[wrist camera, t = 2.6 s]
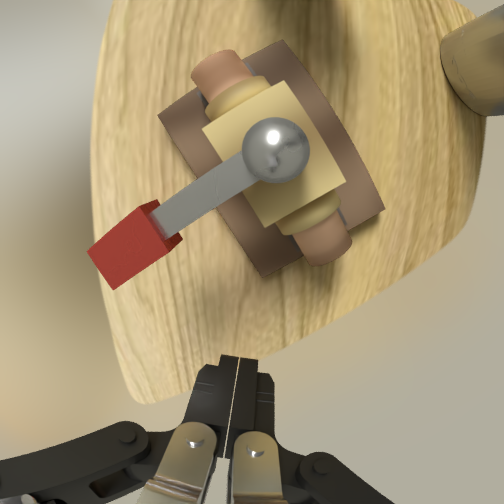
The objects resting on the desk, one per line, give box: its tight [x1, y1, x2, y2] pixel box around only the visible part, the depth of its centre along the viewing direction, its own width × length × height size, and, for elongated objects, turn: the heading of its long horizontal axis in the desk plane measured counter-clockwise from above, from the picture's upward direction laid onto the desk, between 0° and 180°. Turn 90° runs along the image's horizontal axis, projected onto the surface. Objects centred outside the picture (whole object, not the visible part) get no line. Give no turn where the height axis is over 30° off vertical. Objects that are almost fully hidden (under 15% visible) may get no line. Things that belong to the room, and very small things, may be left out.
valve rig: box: [157, 40, 385, 278], centre depth 16 cm, size 15×11×8 cm
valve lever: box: [87, 117, 310, 290], centre depth 12 cm, size 11×3×2 cm, turn 122°
